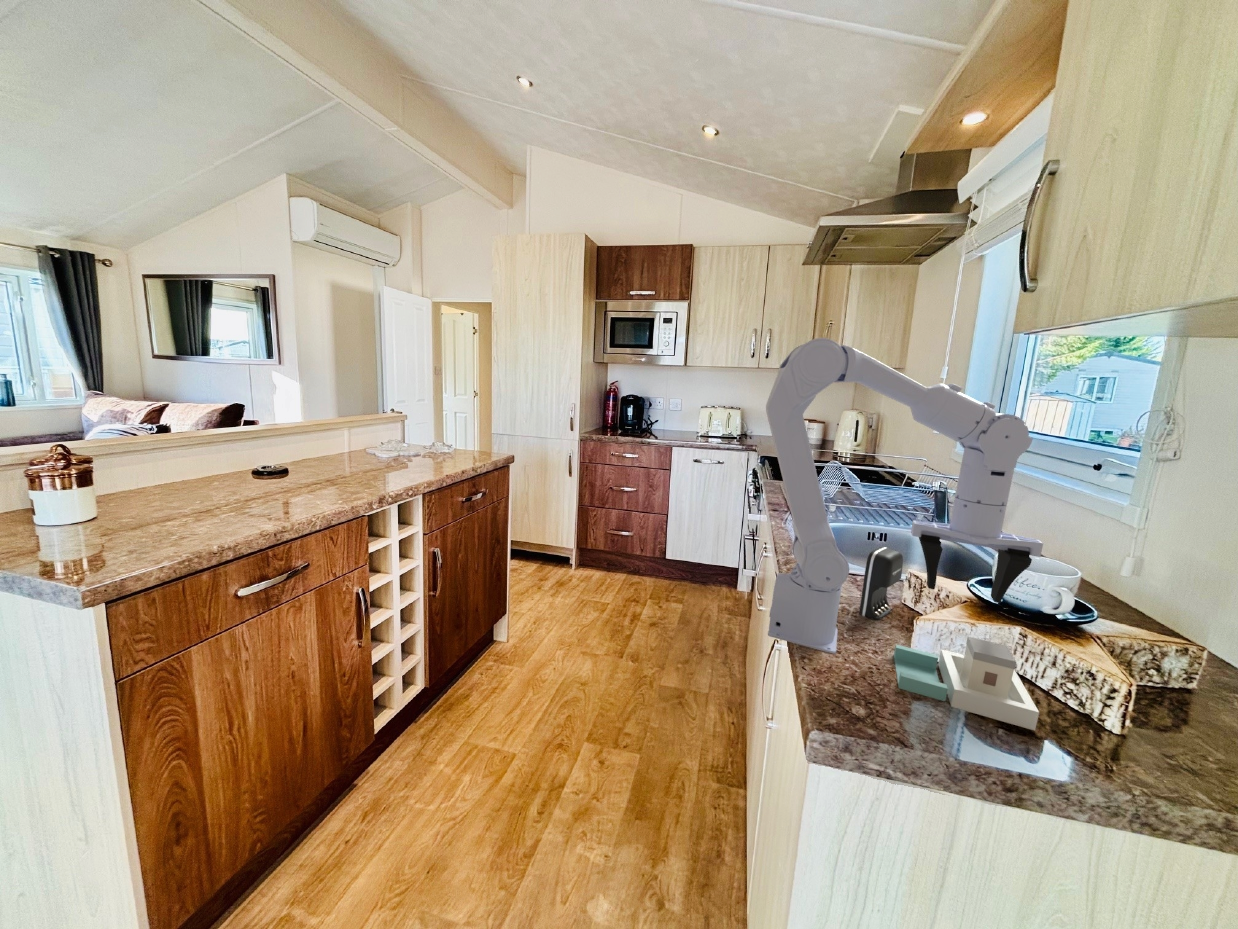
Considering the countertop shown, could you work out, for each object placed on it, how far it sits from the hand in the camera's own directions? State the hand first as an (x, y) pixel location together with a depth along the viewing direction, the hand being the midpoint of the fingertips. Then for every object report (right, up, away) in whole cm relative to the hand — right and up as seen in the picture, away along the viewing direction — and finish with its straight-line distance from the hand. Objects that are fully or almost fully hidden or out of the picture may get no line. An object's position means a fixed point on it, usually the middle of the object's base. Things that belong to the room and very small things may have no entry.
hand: (962, 593), depth 67 cm
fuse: (-3, -11, -7) cm, 13 cm away
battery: (-5, -8, +14) cm, 16 cm away
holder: (-9, -10, -4) cm, 14 cm away
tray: (-3, -11, -7) cm, 14 cm away
